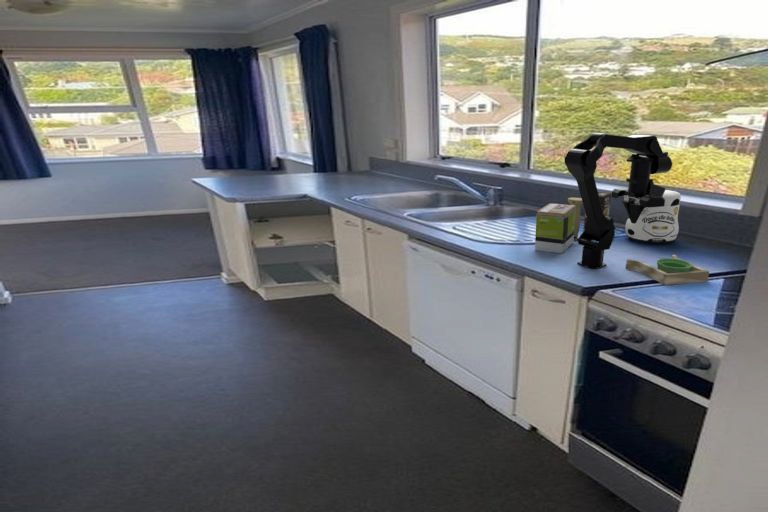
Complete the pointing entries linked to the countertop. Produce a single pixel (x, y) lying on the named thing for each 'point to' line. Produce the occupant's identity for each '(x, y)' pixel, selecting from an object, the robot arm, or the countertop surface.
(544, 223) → the tea box
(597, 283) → the countertop surface
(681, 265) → the ramekin
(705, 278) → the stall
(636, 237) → the milk container
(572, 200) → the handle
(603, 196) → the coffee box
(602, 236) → the robot arm
